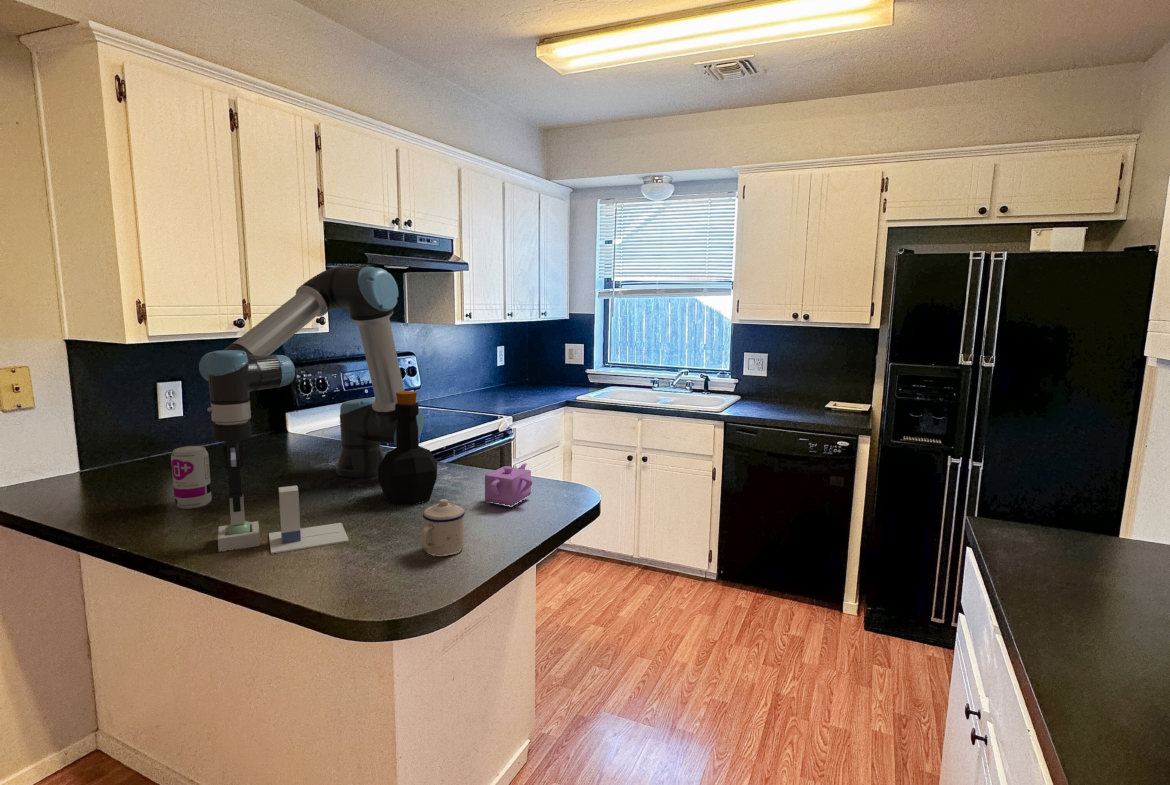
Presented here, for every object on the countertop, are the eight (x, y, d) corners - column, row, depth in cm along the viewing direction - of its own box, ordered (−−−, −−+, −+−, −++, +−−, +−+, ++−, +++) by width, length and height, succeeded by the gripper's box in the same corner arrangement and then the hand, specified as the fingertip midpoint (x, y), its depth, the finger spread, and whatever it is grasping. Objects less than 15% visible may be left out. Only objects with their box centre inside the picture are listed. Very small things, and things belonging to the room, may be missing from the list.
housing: (259, 533, 147) (258, 521, 146) (260, 545, 140) (259, 532, 139) (219, 538, 143) (218, 526, 143) (218, 551, 136) (217, 538, 136)
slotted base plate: (341, 524, 154) (341, 522, 154) (348, 541, 143) (348, 539, 143) (268, 534, 146) (268, 533, 146) (271, 554, 136) (271, 552, 136)
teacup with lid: (441, 538, 146) (440, 491, 145) (472, 546, 143) (472, 497, 141) (405, 557, 136) (404, 506, 134) (438, 566, 132) (438, 514, 130)
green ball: (250, 535, 144) (249, 519, 144) (250, 542, 141) (249, 526, 140) (228, 538, 142) (227, 522, 142) (228, 545, 138) (227, 529, 138)
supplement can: (194, 511, 160) (190, 454, 157) (167, 508, 161) (162, 451, 159) (219, 500, 168) (215, 446, 165) (192, 498, 169) (188, 444, 167)
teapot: (507, 489, 184) (507, 456, 182) (548, 496, 178) (549, 462, 176) (471, 507, 168) (471, 471, 166) (515, 516, 162) (516, 479, 160)
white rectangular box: (299, 534, 145) (296, 485, 143) (300, 540, 142) (298, 490, 140) (281, 537, 144) (278, 487, 142) (282, 543, 140) (279, 492, 138)
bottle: (446, 502, 171) (445, 394, 166) (385, 511, 163) (382, 398, 158) (429, 486, 185) (427, 386, 180) (372, 494, 176) (368, 389, 171)
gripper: (212, 416, 141) (219, 516, 144) (210, 428, 129) (217, 536, 133) (250, 414, 144) (256, 512, 148) (251, 425, 133) (257, 530, 137)
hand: (238, 523), depth 141 cm, fingers closed
